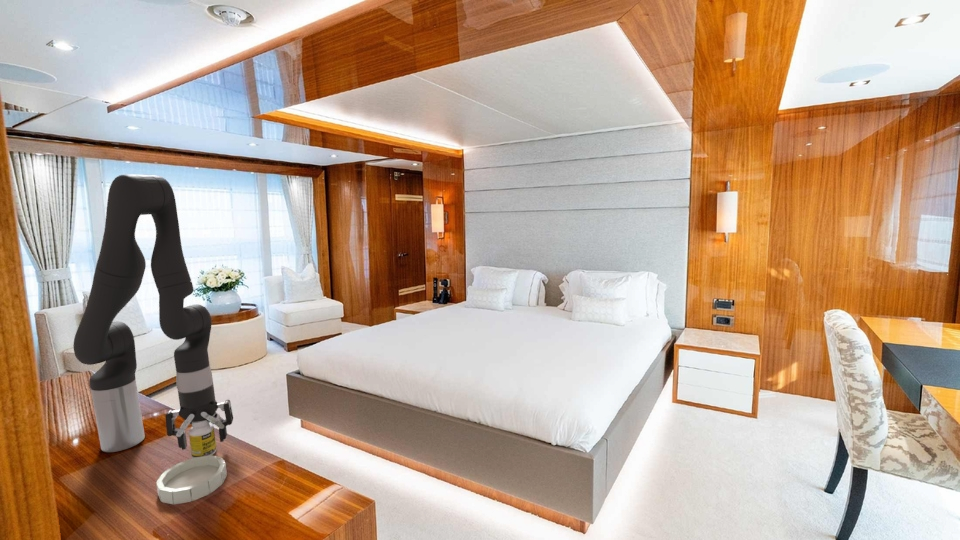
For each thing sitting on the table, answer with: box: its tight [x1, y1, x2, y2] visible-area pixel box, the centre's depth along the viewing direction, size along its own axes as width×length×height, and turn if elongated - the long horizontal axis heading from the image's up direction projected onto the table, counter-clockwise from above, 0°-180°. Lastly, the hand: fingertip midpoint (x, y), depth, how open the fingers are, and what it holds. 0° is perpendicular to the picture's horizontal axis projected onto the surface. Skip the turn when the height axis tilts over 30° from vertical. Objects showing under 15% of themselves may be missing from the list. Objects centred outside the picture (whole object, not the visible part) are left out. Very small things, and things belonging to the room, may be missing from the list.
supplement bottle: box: [188, 420, 217, 458], centre depth 112 cm, size 5×5×10 cm
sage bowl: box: [155, 455, 228, 505], centre depth 100 cm, size 13×13×3 cm
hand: (203, 444), depth 112 cm, fingers open, 8 cm apart
